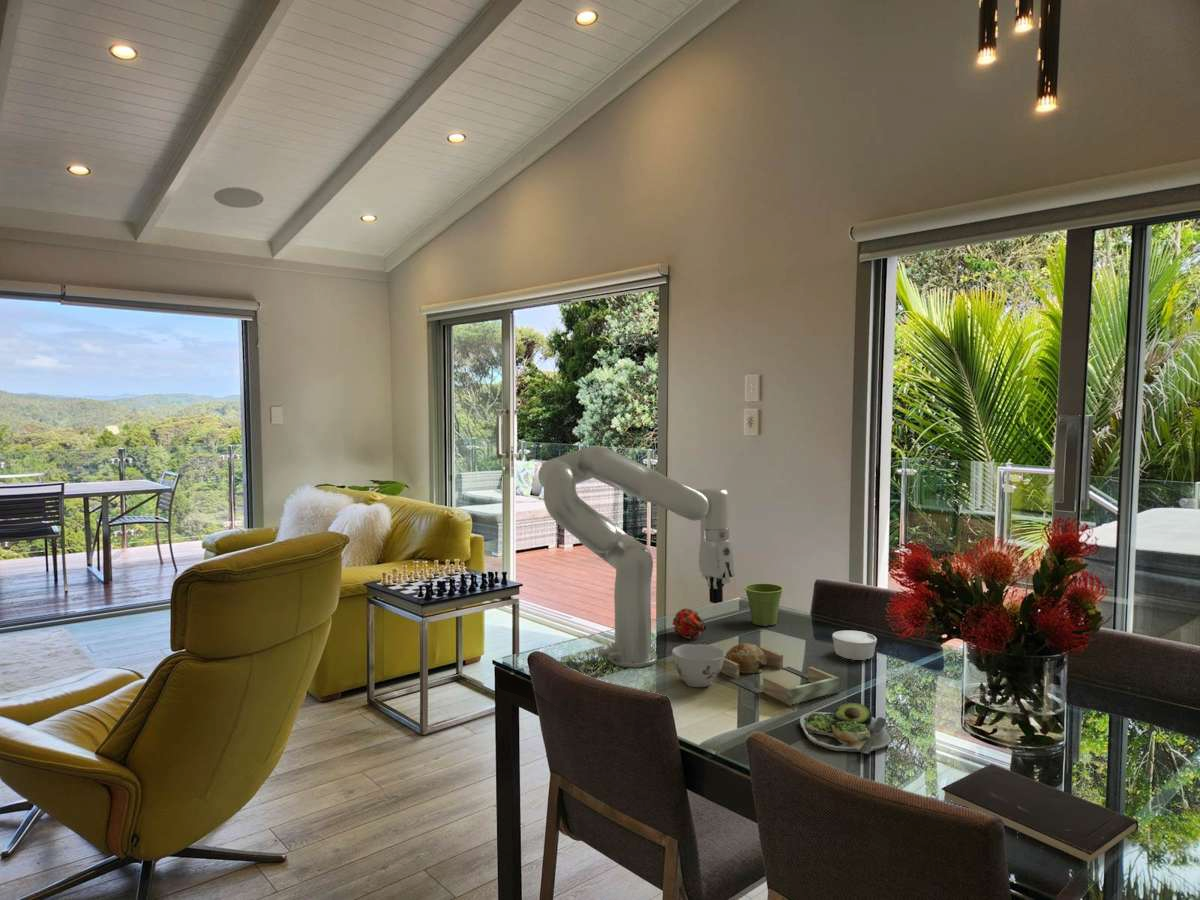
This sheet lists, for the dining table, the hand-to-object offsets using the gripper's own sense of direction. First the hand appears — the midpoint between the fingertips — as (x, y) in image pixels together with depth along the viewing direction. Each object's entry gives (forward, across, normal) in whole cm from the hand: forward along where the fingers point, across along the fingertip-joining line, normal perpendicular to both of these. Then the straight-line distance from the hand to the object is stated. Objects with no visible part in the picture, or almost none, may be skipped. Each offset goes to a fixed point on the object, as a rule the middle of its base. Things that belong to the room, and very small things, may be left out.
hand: (716, 601), depth 205 cm
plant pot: (+15, +15, -29) cm, 36 cm away
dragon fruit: (+14, +16, -2) cm, 22 cm away
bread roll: (+14, -13, +1) cm, 19 cm away
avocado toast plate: (+15, -54, +9) cm, 56 cm away
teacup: (+14, -15, +18) cm, 27 cm away
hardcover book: (+15, -91, +5) cm, 92 cm away
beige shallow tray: (+14, -23, +1) cm, 27 cm away
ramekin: (+15, -20, -30) cm, 39 cm away
